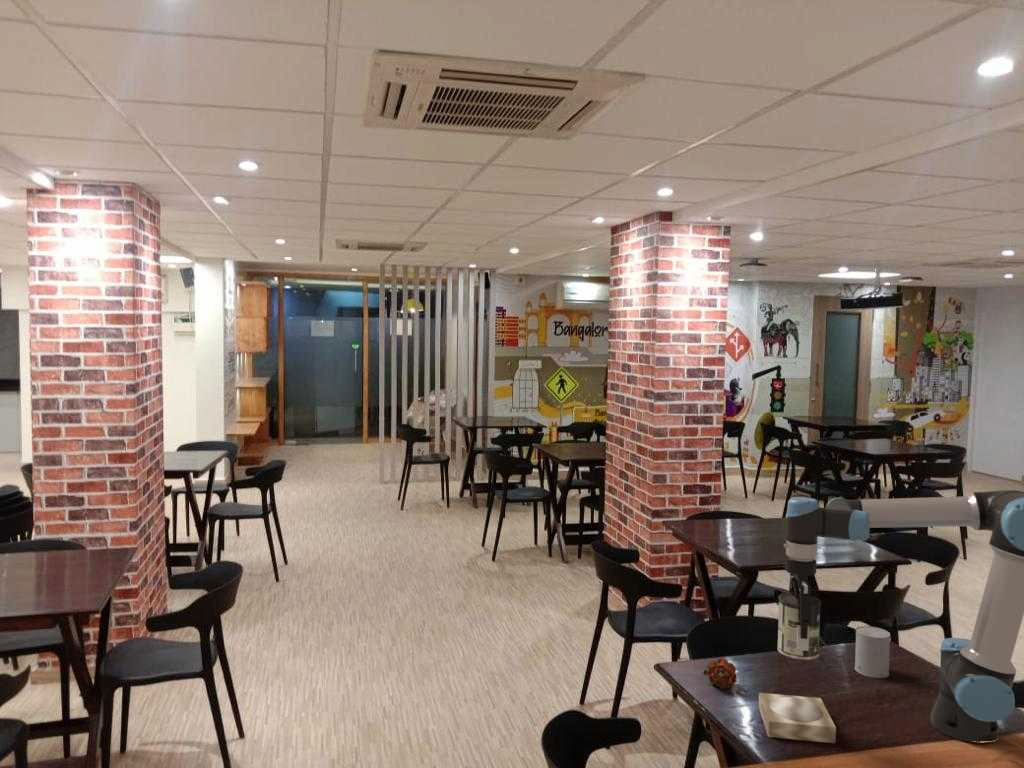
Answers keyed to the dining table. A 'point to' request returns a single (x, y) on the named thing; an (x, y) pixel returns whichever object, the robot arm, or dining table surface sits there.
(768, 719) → the stand
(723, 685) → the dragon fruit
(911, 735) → the dining table surface
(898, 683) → the dining table surface
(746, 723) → the dining table surface
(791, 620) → the coffee can
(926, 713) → the dining table surface
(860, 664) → the white cylinder
